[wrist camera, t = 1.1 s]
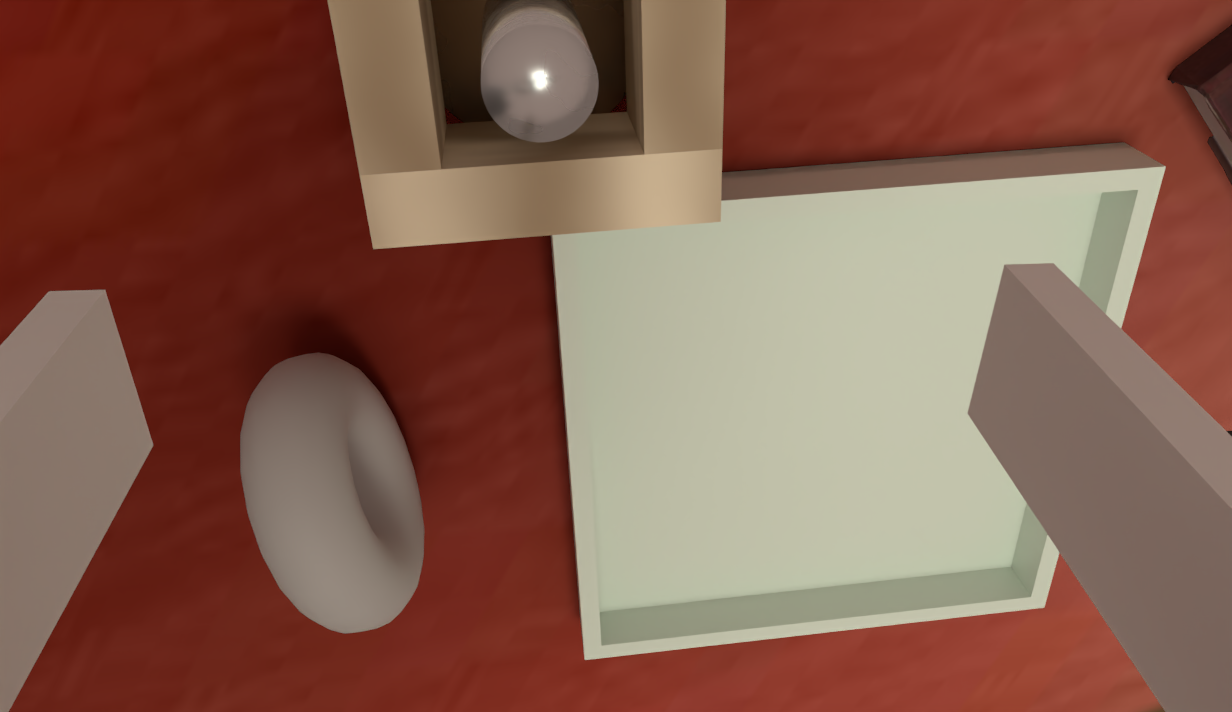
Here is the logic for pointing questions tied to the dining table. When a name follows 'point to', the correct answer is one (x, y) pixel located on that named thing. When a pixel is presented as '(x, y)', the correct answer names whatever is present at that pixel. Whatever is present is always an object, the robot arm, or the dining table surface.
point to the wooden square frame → (533, 171)
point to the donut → (332, 493)
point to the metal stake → (531, 62)
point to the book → (1212, 92)
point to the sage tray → (818, 393)
